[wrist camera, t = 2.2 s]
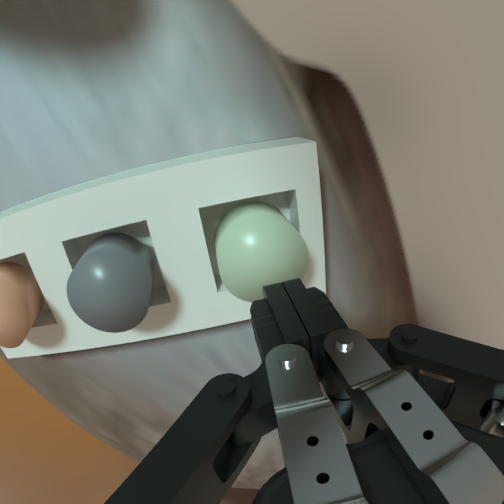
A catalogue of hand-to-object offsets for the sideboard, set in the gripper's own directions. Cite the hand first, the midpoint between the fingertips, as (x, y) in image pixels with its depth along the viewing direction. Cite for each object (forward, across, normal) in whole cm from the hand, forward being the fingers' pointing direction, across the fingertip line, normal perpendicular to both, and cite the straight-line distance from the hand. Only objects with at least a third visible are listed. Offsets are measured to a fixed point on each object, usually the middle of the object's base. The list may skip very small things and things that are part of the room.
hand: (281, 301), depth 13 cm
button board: (+8, +8, 0) cm, 12 cm away
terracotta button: (+6, +16, 0) cm, 17 cm away
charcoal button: (+6, +8, 0) cm, 10 cm away
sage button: (+6, 0, 0) cm, 6 cm away
